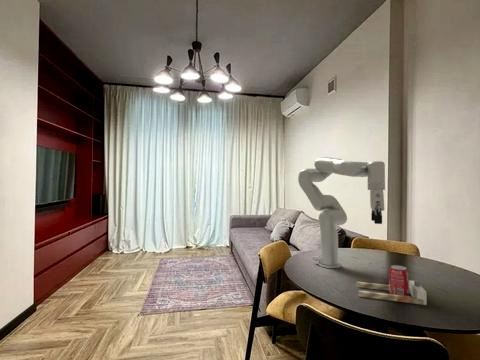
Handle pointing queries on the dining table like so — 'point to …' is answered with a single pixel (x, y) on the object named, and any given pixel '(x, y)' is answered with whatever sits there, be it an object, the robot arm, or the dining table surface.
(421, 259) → the dining table surface
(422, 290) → the connector block
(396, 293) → the soda can
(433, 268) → the dining table surface
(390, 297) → the guide channel
